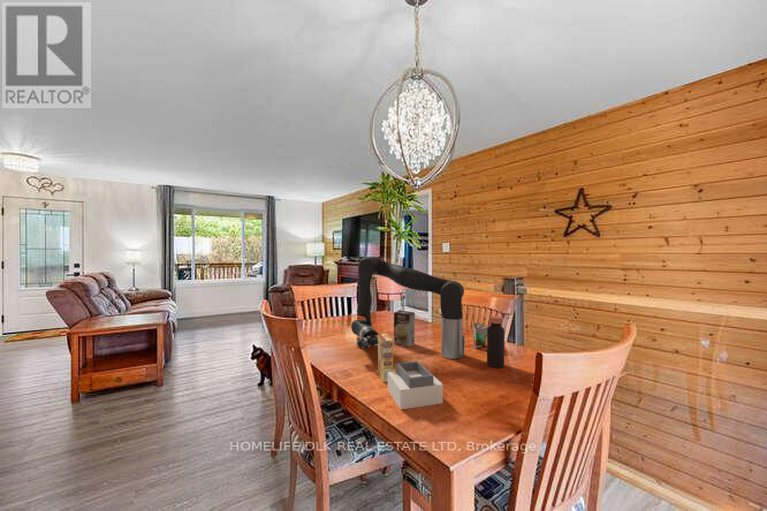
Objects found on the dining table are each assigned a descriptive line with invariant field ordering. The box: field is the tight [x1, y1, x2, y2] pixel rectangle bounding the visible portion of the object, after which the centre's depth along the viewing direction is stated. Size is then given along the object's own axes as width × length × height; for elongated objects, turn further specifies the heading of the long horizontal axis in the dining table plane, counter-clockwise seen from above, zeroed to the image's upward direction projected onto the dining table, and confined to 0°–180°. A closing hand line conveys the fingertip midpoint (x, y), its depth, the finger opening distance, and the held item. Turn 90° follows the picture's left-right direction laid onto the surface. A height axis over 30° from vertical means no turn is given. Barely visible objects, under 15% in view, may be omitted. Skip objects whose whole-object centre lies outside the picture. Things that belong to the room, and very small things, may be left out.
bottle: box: [486, 315, 506, 369], centre depth 132 cm, size 7×7×20 cm
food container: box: [473, 322, 488, 350], centre depth 156 cm, size 12×6×10 cm, turn 168°
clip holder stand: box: [387, 360, 444, 411], centre depth 105 cm, size 14×14×9 cm
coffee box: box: [393, 310, 416, 347], centre depth 160 cm, size 9×6×16 cm
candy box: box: [377, 333, 394, 383], centre depth 120 cm, size 9×4×15 cm, turn 13°
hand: (377, 346), depth 131 cm, fingers open, 8 cm apart
